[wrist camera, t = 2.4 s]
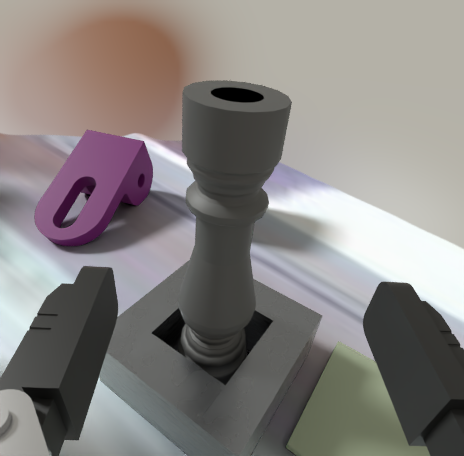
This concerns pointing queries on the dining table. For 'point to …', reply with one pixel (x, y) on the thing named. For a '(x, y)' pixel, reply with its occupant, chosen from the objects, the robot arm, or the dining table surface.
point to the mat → (350, 413)
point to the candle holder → (225, 213)
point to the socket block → (199, 381)
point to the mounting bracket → (94, 186)
